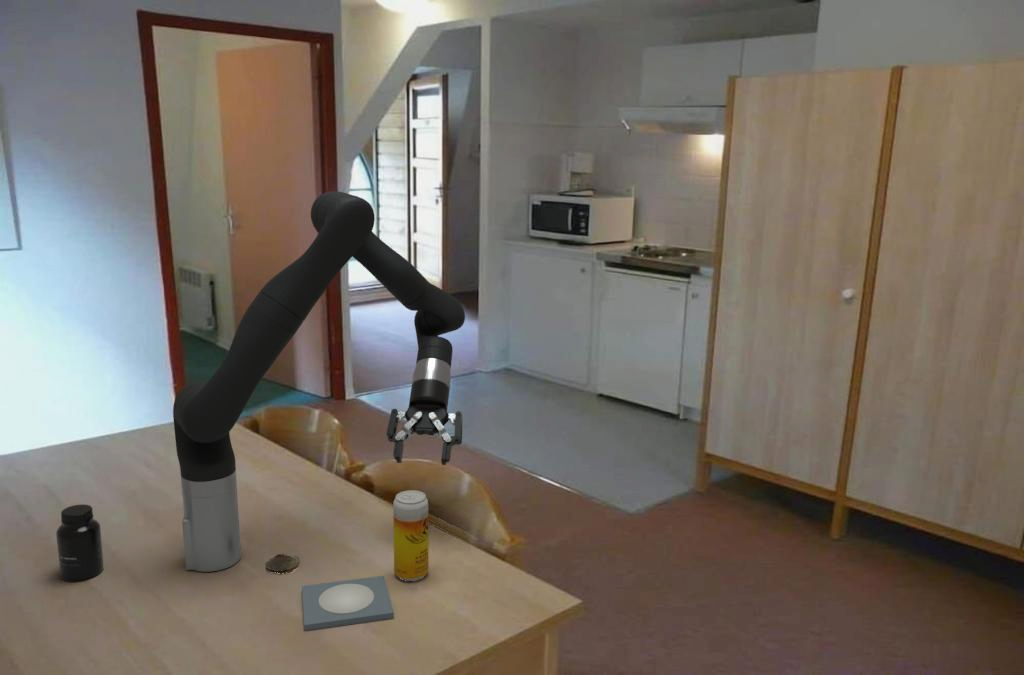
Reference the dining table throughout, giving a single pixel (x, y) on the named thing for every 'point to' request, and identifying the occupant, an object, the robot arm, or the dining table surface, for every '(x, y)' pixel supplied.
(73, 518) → the supplement bottle
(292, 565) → the decorative disc
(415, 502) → the beer can
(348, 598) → the board
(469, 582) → the dining table surface
